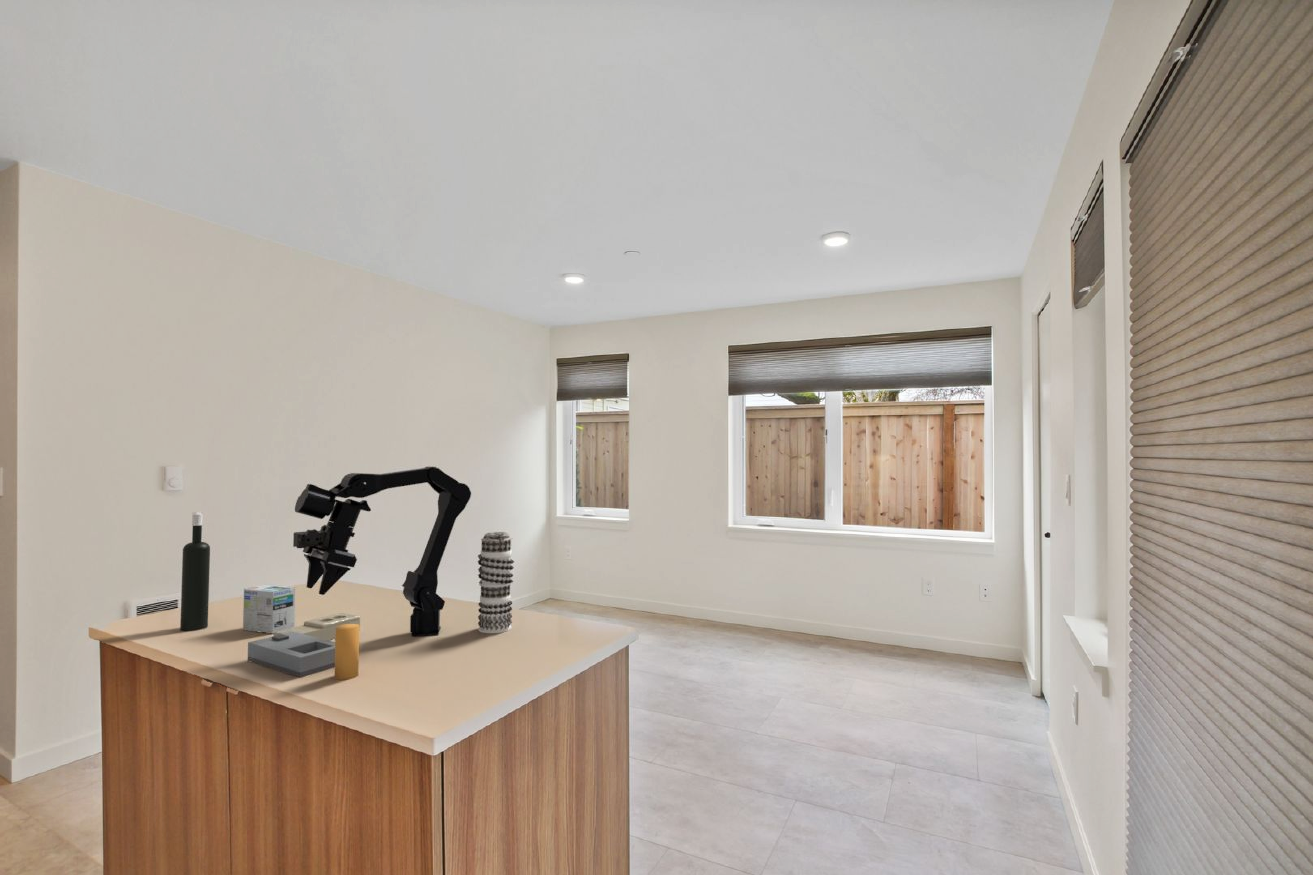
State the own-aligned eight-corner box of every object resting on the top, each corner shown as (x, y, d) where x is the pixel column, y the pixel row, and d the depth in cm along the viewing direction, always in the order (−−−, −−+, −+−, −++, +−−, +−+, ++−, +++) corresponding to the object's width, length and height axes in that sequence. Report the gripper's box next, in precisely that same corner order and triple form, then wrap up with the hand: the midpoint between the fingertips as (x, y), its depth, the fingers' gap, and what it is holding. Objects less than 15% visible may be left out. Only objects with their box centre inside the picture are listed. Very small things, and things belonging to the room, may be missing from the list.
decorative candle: (472, 627, 166) (473, 532, 167) (506, 622, 171) (507, 530, 172) (482, 635, 158) (484, 536, 159) (518, 630, 163) (519, 533, 164)
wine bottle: (183, 626, 165) (187, 511, 166) (209, 624, 167) (213, 511, 168) (177, 632, 159) (181, 513, 160) (205, 629, 162) (208, 512, 163)
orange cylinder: (360, 671, 131) (361, 623, 132) (355, 678, 127) (356, 629, 127) (337, 673, 130) (338, 624, 131) (331, 680, 126) (333, 630, 126)
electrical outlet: (274, 627, 148) (342, 612, 164) (273, 645, 148) (341, 628, 164) (293, 631, 145) (360, 615, 161) (292, 649, 145) (360, 631, 161)
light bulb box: (295, 628, 164) (296, 586, 165) (272, 634, 158) (273, 591, 158) (265, 624, 168) (266, 583, 168) (241, 630, 161) (242, 588, 162)
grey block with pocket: (346, 663, 136) (346, 642, 136) (300, 677, 127) (300, 654, 128) (293, 649, 146) (293, 629, 146) (247, 660, 138) (248, 639, 138)
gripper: (293, 512, 148) (266, 577, 144) (318, 518, 135) (288, 590, 131) (340, 524, 156) (316, 587, 151) (368, 531, 142) (342, 600, 138)
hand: (314, 591), depth 143 cm, fingers open, 9 cm apart
